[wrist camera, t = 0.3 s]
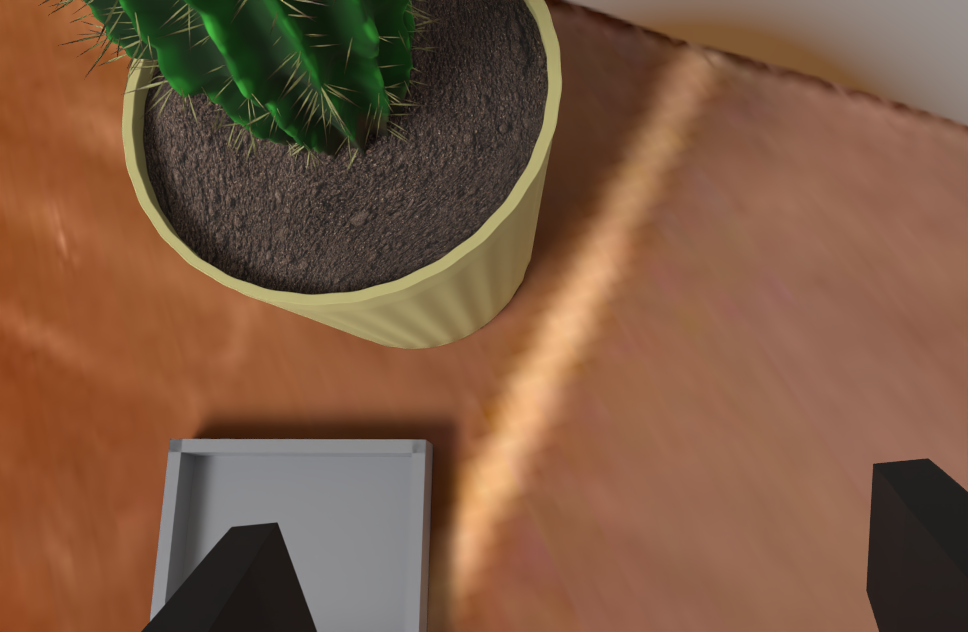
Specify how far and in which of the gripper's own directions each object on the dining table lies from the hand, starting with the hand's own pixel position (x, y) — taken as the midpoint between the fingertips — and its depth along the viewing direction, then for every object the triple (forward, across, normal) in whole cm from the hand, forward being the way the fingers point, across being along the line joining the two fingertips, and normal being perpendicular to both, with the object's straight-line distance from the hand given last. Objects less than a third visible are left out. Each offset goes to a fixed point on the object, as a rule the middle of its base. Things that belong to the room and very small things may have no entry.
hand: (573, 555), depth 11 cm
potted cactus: (+33, +7, +10) cm, 35 cm away
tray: (+22, +14, +20) cm, 33 cm away
